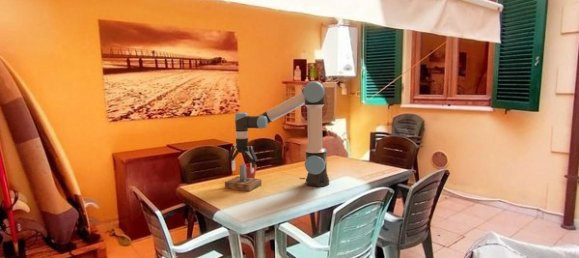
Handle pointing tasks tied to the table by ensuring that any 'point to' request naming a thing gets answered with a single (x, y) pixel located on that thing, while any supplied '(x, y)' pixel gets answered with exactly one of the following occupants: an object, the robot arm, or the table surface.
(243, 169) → the grey stepped bar
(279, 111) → the robot arm
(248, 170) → the flower pot
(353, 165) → the table surface
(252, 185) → the well block
